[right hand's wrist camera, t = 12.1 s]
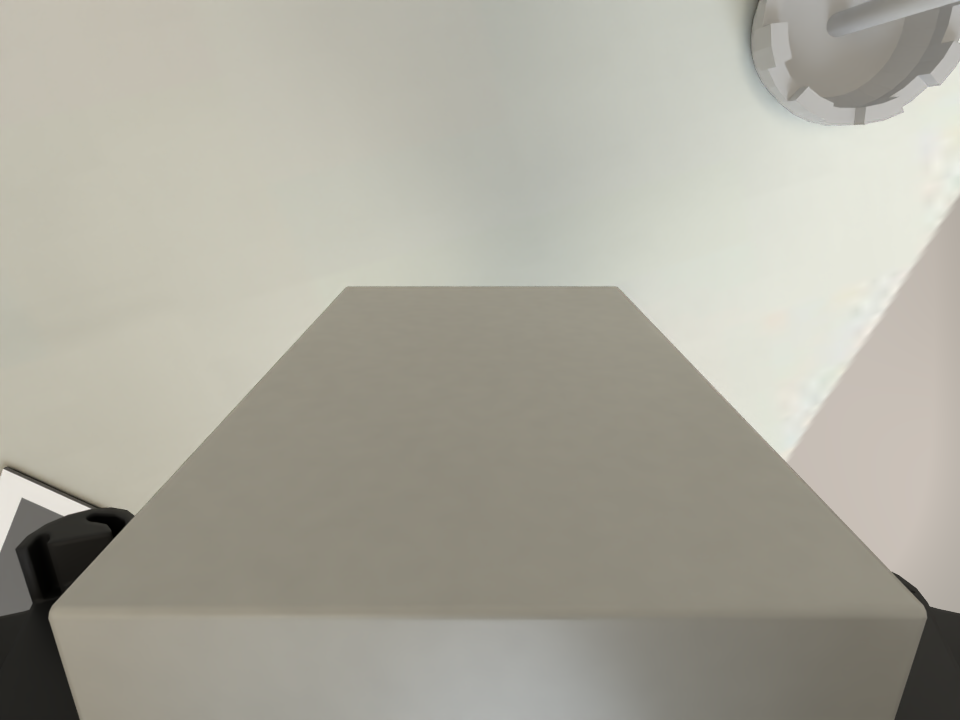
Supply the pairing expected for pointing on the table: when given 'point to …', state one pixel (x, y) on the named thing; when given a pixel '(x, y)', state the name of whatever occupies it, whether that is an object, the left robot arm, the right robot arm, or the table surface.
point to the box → (486, 539)
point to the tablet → (25, 529)
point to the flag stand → (853, 55)
